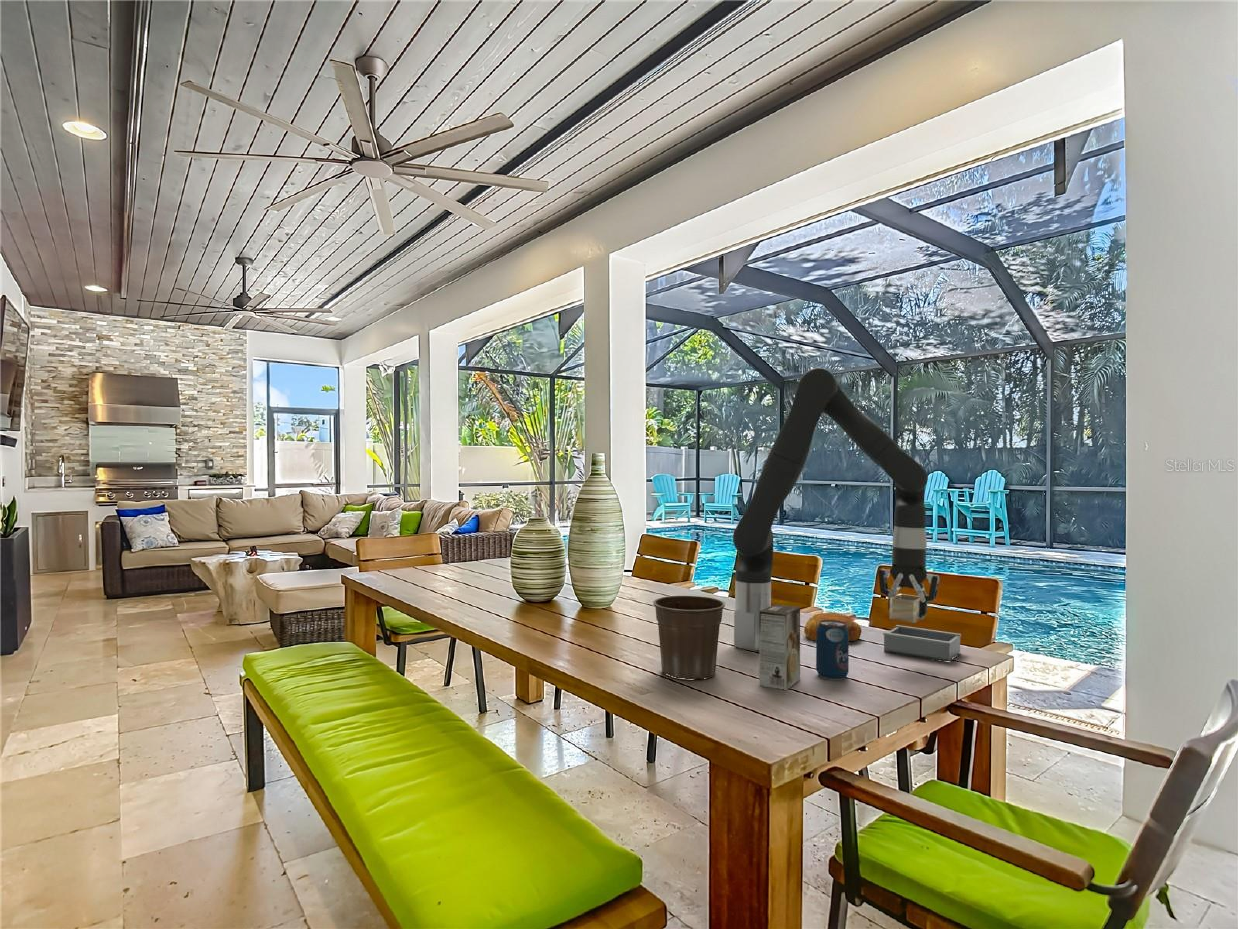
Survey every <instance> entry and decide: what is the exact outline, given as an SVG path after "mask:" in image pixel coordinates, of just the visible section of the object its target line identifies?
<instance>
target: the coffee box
mask: <svg viewBox="0 0 1238 929" xmlns="http://www.w3.org/2000/svg"><path fill="white" fill-rule="evenodd" d="M758 654H759V659H758V660H759V667H758V668H759V670H758V672H759V673H758V675H759V677H758V680H759V682H758V683H759V686H760V685H762V686H761V687H766V686H767V687H768V688H772V689H777V688H779V689H778V690H782V689H784V690H783V691H788V690H790V688H791V687H792V685H793V686H794V685H795V684H796V683H797V682H798V681H800V680H801V607H799V606H790V605H781V604H771V606H770V607H768V608H765V609H763V610H761V611H759V650H758ZM767 687H766V688H767Z"/></svg>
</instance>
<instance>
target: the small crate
mask: <svg viewBox="0 0 1238 929" xmlns="http://www.w3.org/2000/svg"><path fill="white" fill-rule="evenodd" d="M919 603H920V598H919V596H918V595H913V594H905V593H897V594H896V596H893V597H891V598H890V610H889V611H888V612H889V616H888V617H889V618H888V619H889V620H895V621H901V622H907V623H912V624H913V623H914V624H916V623H919V621H921V620H923V619H925V618H926V615H925V616H924V617H923V618H920V617H919Z"/></svg>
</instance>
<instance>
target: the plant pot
mask: <svg viewBox="0 0 1238 929" xmlns="http://www.w3.org/2000/svg"><path fill="white" fill-rule="evenodd" d="M652 605H653V606H654V607H655V618H656V621H657V625H658V626H657V627H658V636H659V650H660V661H661V662H660V664H661V666H660V667H661V672H662V671H663V672H664V673H663V672H662V673H663V674H664V675H665V674H668V675H670V676H673V677H676V678H685V679H695V680H696V679H700V678H701V680H702V679H703V680H705V679H704V678H707V679H710V678H713V677H714V676H715V674H716V670H717V669H716V668H717V657H718V655H717V654H718V645H719V635H720V626H721V625H720V624H721V623H722V620H723V610H724V608H725V606H726V603H725V601H723V600H720V599H718V598H714V597H707V596H698V595H697V596H696V595H670V596H661V597H659V598H656V599H654V600H653V603H652Z"/></svg>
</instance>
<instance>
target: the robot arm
mask: <svg viewBox="0 0 1238 929" xmlns="http://www.w3.org/2000/svg"><path fill="white" fill-rule="evenodd" d="M797 384H798V385H797V388H796V392H795V396H794V397H793V401H792V404H791V408H790V410H789V413H788V416H787V417H786V420H785V421H784V423H783V425H782V427H781V428H780V430H779V431H778V432H779V433H778V435H777V436H776V439H775V440H774V443H773V445H772V446H771V449H770V451H769V453H768V454H767V458H766V460H765V462H764V465H763V468H762V470H761V473H760V475H759V478H758V480H757V483H756V486H755V489H754V492H753V495H752V497H751V499H750V502H749V503H748V505H747V507H746V510H745V511H744V514H743V515H742V516H741V518H740V520H739V521H738V523H737V525H736V527H735V529H734V531H733V534H732V539H733V540H732V542H733V545H734V548H735V549H736V551H737V552H738V559H737V560H738V561H737V564H736V565H737V566H736V568H735V579H734V580H735V582H734V583H735V584H734V585H735V589H734V590H735V591H734V600H735V602H734V604H735V605H734V612H733V616H734V617H733V618H734V620H733V647H734V648H736V647H738V648H737V649H741V648H742V649H743V650H747V651H752V652H757V651H759V611H761V610H763V609H765V608H768V607H770V606H772V604H771V603H772V572H773V566H774V564H773V563H774V534H773V530H772V526H773V524H774V521H775V519H776V516H777V513H778V512H779V510H780V508H781V506H782V505H783V504H784V502H785V501H786V500H787V498H788V496H789V495H790V493H791V492H792V490H793V489H794V487H795V485H796V484H797V482H798V479H799V478H800V475H801V473H802V471H803V469H804V466H805V463H806V460H807V459H808V456H809V454H810V453H809V452H810V448H811V447H812V446H811V445H812V441H813V437H814V432H815V430H816V427H817V424H818V422H819V420H820V418H821V416H822V415H823V413H824V414H825V415H827V416H828V417H829V418H830V419H831V420H833V421H834V422H835V423H836V424H837V425H838V426H839V427H840V428H841V429H842V431H843V432H845V433H846V435H848V437H849V438H850V439H851V441H852V442H853V443H854V444H855V445H856V446H857V447H858V448H859V449H860V451H862V452H863V453H864V454H865V455H866V457H867V458H869V459H870V460H871V461H872V462H873V463H874V464H875V465H877V466H878V467H880V468H881V469H882V470H883V471H884V472H885V473H886V474H887V475H888V477H889V478H890V479H891V480H892V482H894V494H895V495H894V496H895V497H894V498H895V506H894V507H895V508H894V516H893V517H894V520H893V521H894V523H893V531H892V532H893V533H892V552H891V564H892V565H891V567H890V569H886V568H882V569H878V572H877V574H878V581H879V583H878V584H879V589H880V590H879V591H880V594H882V595H885V596H886V597H887V598H888V603H887V604H888V605H887V606H888V607H887V609H888V611H890V598H891V597H893V596H896V595H898V592H899V590H901V588H908V589H914V591H915V592H916V594H917V596H919V598H920V603H919V617H920V618H923V617H924V616H925V617H926V616H927V613H928V602H931V601H934V600H936V599H937V595H938V589H939V585H940V579H941V576H940V575H939V574H932V573H928V572H927V570H926V568H927V567H926V565H927V545H928V544H927V543H928V542H927V530H926V527H927V526H926V525H927V524H926V522H927V521H926V520H927V518H926V517H927V513H926V511H927V510H926V506H925V493H926V486H927V484H928V480H929V477H928V473H927V470H925V468H924V466H922V465H921V464H920V463H919V462H918V461H916V460H915V459H914V458H913V457H911V456H910V455H909V454H908V453H907V452H905V451H904V450H903V449H902V448H901V447H900V445H899V444H898V443H897V442H896V441H895V440H894V439H893V438H892V437H891V436H890V435H889V434H888V433H887V432H885V430H884V429H882V428H881V427H880V425H879V424H877V423H876V422H875V421H874V420H872V419H871V418H870V417H869V416H867V415H866V414H865V413H864V412H862V410H860V409H859V408H858V407H857V406H856V405H855V404H854V403H853V402H852V401H851V400H850V399H849V398H848V396H847V395H846V394H845V392H844V391H843V389H842V388H841V387H840V385H839V384H838V381H837V379H836V377H835V375H834V374H833V373H832V372H831V371H829V370H828V369H826V368H823V367H813V368H810V369H809V370H807V371H805V373H803V375H802V376H801V378H800V379H799V382H798V383H797ZM890 575H891V577H892V579H893V580H894V582H893V584H892V586H891V588H890V589H889V585H888V583H889V582H888V578H889V577H890ZM926 579H927V581H928V583H929V584H930V587H929V593H928V594H927V592H926V588H925V587H924V584H923V582H924V581H925V580H926ZM923 619H924V618H923Z"/></svg>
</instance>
